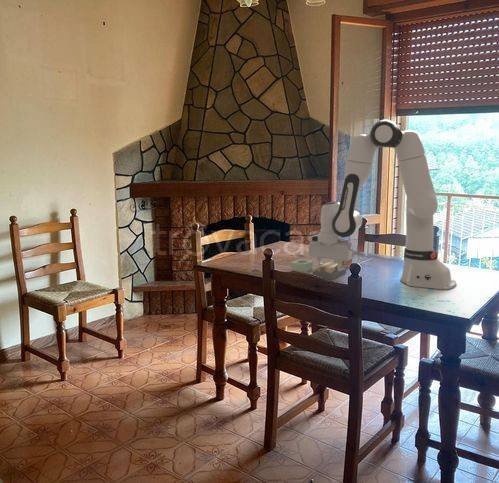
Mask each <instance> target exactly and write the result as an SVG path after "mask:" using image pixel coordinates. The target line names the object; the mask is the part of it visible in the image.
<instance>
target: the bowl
mask: <svg viewBox="0 0 499 483" xmlns="http://www.w3.org/2000/svg"><path fill="white" fill-rule="evenodd" d="M313 264H314V263H313V260H307V259H300V258H299V259H297V260H294V261H291V272H292V271H298V272H305V274H308V273H310V272H313Z"/></svg>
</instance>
